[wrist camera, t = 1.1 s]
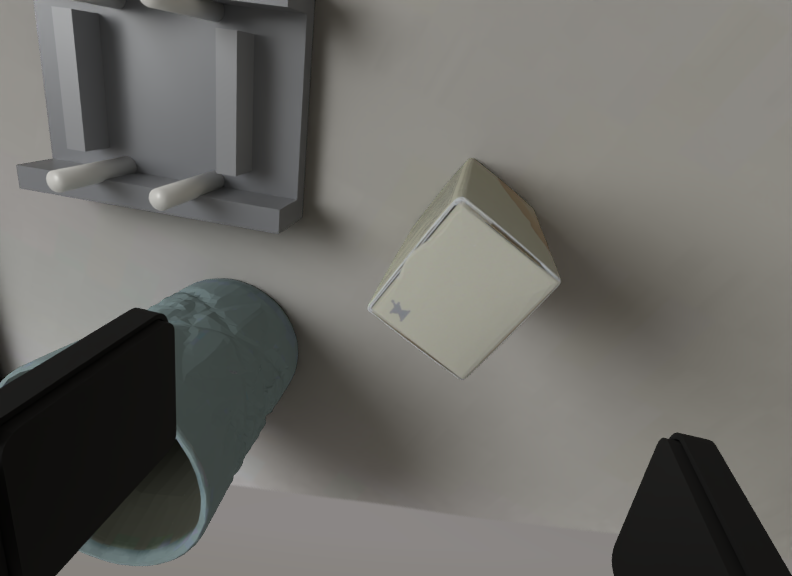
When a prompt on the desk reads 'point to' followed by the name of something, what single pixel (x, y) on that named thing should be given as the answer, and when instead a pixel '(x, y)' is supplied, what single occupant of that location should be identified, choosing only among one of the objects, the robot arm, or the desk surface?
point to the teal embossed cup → (201, 417)
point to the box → (467, 272)
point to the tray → (178, 106)
